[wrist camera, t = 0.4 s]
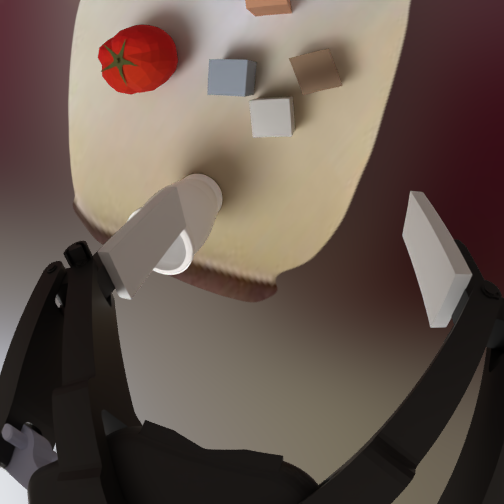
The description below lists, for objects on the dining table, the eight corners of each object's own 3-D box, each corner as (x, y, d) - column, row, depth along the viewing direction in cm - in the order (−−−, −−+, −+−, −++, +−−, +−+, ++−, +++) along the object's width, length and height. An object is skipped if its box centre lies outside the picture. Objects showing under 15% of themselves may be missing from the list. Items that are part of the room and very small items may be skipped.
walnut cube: (293, 61, 30) (289, 58, 26) (327, 53, 28) (328, 48, 24) (305, 93, 32) (302, 94, 28) (339, 85, 30) (342, 85, 26)
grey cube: (257, 98, 34) (249, 100, 30) (292, 96, 33) (289, 98, 29) (260, 130, 37) (252, 137, 33) (295, 129, 36) (291, 136, 32)
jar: (209, 232, 50) (173, 287, 38) (164, 199, 48) (117, 244, 36) (241, 192, 44) (207, 243, 32) (191, 154, 42) (138, 192, 30)
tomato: (142, 19, 28) (100, 14, 20) (203, 42, 30) (168, 35, 22) (116, 75, 35) (74, 83, 27) (170, 102, 37) (132, 113, 29)
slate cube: (222, 61, 32) (209, 59, 28) (256, 62, 31) (247, 59, 27) (220, 92, 35) (207, 94, 31) (253, 94, 34) (244, 96, 30)
